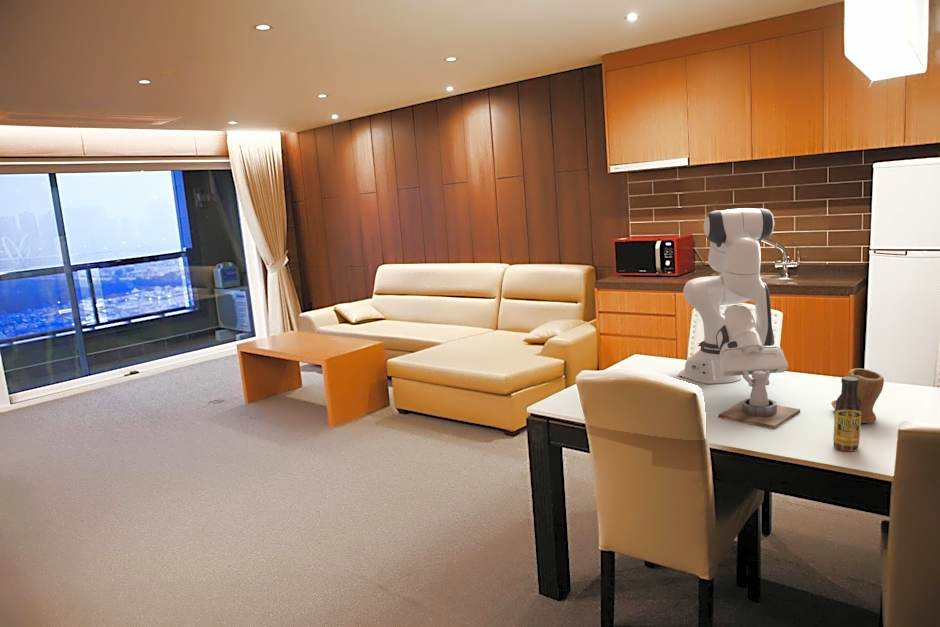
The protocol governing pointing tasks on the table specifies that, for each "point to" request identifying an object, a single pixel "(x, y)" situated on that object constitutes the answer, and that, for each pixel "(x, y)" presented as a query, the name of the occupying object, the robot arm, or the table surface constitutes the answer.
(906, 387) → the table surface
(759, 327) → the robot arm
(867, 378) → the stone cup
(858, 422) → the sauce bottle
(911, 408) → the table surface
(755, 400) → the salt shaker
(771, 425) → the keeper plate
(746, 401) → the keeper collar
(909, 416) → the table surface
